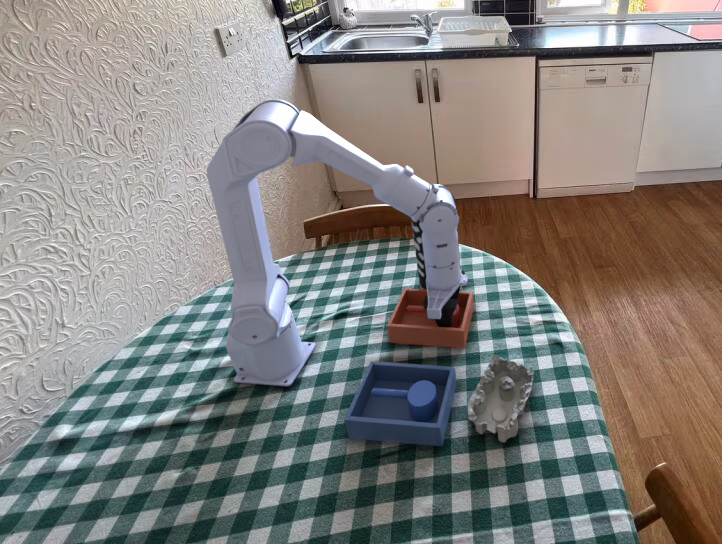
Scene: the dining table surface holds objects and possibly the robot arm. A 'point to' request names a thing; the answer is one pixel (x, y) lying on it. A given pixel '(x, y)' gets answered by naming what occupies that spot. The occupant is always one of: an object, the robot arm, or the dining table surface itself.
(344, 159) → the robot arm
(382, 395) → the blue cylinder with handle
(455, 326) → the red ladle-shaped piece
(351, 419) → the blue bin
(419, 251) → the black white spotted cylinder
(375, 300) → the dining table surface
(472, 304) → the red bin
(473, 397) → the egg carton
